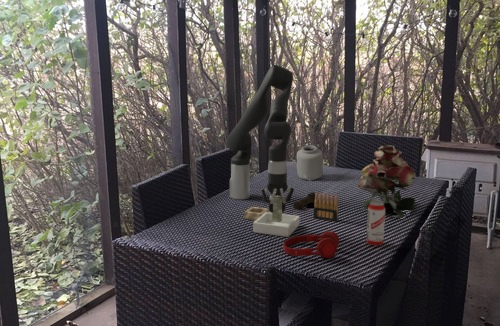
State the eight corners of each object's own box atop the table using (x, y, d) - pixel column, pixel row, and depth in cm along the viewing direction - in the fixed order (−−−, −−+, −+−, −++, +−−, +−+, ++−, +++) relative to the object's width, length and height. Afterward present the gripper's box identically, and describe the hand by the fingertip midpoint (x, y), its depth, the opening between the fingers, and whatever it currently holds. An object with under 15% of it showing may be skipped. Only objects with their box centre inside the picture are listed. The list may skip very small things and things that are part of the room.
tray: (253, 232, 201) (253, 222, 200) (265, 220, 214) (265, 211, 213) (288, 237, 195) (288, 227, 194) (299, 225, 209) (299, 216, 208)
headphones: (341, 245, 185) (289, 247, 192) (339, 227, 184) (287, 230, 190) (336, 261, 172) (280, 262, 178) (334, 242, 170) (278, 243, 176)
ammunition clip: (338, 220, 215) (339, 194, 212) (336, 221, 213) (337, 195, 210) (314, 217, 219) (315, 190, 217) (313, 218, 218) (314, 191, 215)
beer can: (364, 241, 191) (366, 201, 188) (379, 240, 192) (382, 200, 188) (369, 247, 185) (371, 206, 182) (385, 246, 186) (388, 205, 182)
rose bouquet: (416, 203, 240) (421, 141, 233) (409, 221, 214) (414, 153, 207) (363, 197, 250) (366, 138, 243) (350, 213, 224) (353, 148, 217)
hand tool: (300, 210, 229) (301, 201, 228) (293, 209, 231) (293, 199, 230) (319, 201, 244) (320, 192, 243) (312, 199, 246) (312, 190, 245)
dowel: (273, 222, 202) (273, 198, 200) (271, 219, 206) (271, 195, 204) (282, 221, 202) (283, 198, 200) (280, 218, 206) (281, 195, 204)
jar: (316, 183, 275) (317, 139, 270) (291, 181, 281) (292, 137, 275) (325, 176, 292) (327, 134, 287) (301, 174, 298) (302, 132, 292)
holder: (244, 218, 217) (244, 212, 217) (251, 212, 225) (251, 206, 224) (262, 221, 214) (262, 214, 213) (269, 215, 222) (269, 208, 221)
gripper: (261, 173, 195) (261, 215, 199) (296, 172, 197) (296, 214, 201) (258, 169, 202) (258, 210, 206) (292, 168, 204) (292, 208, 208)
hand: (277, 211), depth 203 cm, fingers closed on dowel, 4 cm apart
